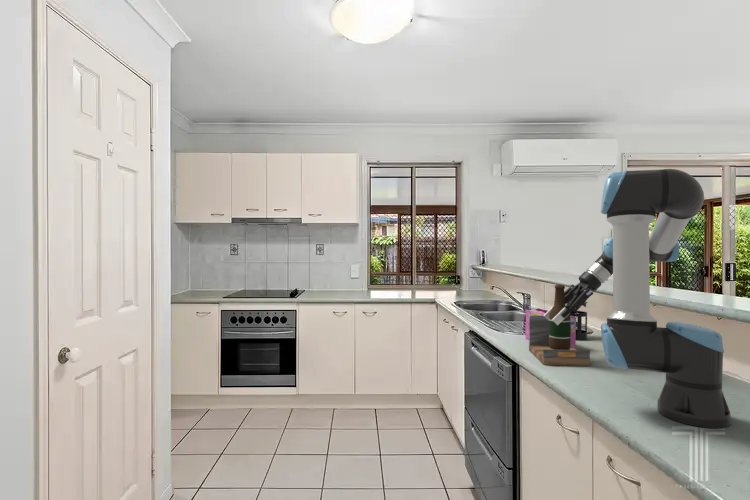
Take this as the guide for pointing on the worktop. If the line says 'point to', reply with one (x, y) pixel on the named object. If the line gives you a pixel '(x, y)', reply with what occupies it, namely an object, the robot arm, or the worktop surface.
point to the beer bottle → (561, 332)
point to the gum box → (542, 312)
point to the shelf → (551, 356)
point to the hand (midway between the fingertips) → (550, 320)
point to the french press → (580, 323)
